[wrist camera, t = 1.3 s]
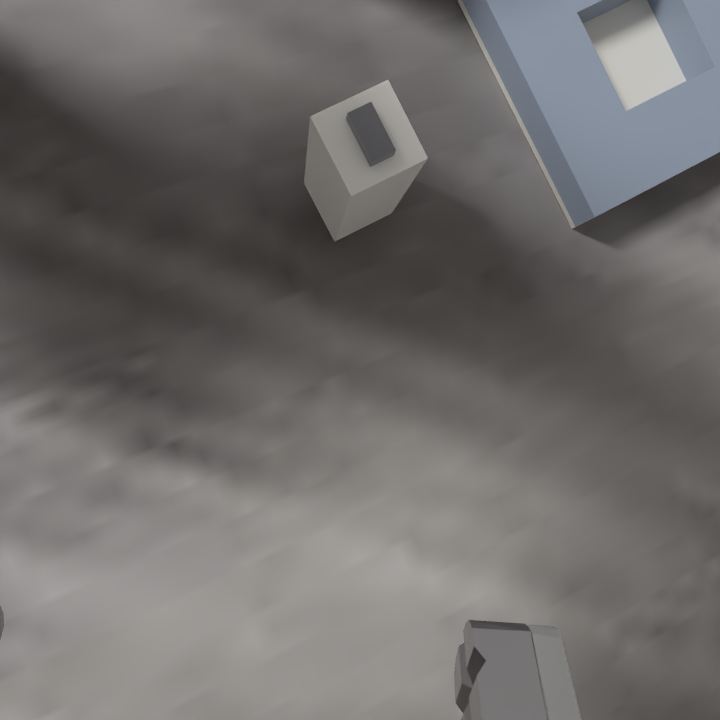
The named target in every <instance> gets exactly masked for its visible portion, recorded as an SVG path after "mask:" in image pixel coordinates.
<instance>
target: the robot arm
mask: <svg viewBox="0 0 720 720" xmlns="http://www.w3.org/2000/svg"><path fill="white" fill-rule="evenodd" d="M3 628H4V614H3V611H2V609H1V606H0V638H1V635H2V631H3ZM463 633H464V643H463V644H461V645H460V646H459V647H458V651H457V655H456V662H455V673H454V677H455V700H456V704H457V705H458V707H459V708H460V710H461V711H462V712H463V716H462V719H461V720H582V718H581V714H580V710H579V706H578V701H577V697H576V693H575V689H574V685H573V680H572V676H571V672H570V668H569V664H568V660H567V655H566V651H565V647H564V643H563V639H562V635H561V633H560V632H559V630H558V629H557V628H555V627H549V626H536V625H526V624H519V623H505V622H491V621H476V620H468V621H467V622H466V624H465V628H464V631H463Z"/></svg>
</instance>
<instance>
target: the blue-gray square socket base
mask: <svg viewBox="0 0 720 720" xmlns="http://www.w3.org/2000/svg"><path fill="white" fill-rule="evenodd" d="M458 3H459V5H460V7H461V9H462V11H463V13H464V15H465V17H466V19H467V21H468V23H469V25H470V27H471V29H472V31H473V33H474V35H475V37H476V39H477V41H478V43H479V45H480V47H481V49H482V51H483V53H484V55H485V57H486V59H487V61H488V63H489V65H490V67H491V69H492V71H493V73H494V75H495V77H496V79H497V81H498V83H499V85H500V87H501V89H502V91H503V93H504V95H505V97H506V99H507V101H508V103H509V105H510V107H511V109H512V111H513V113H514V115H515V117H516V119H517V121H518V123H519V125H520V127H521V129H522V131H523V133H524V135H525V137H526V139H527V140H528V142H529V144H530V146H531V148H532V150H533V152H534V154H535V156H536V158H537V160H538V162H539V164H540V166H541V168H542V170H543V172H544V174H545V176H546V178H547V180H548V182H549V184H550V186H551V188H552V190H553V192H554V194H555V196H556V198H557V200H558V202H559V204H560V206H561V208H562V210H563V212H564V214H565V216H566V218H567V220H568V222H569V224H570V226H571V228H572V229H573V228H575V227H577V226H579V225H581V224H583V223H585V222H587V221H589V220H591V219H593V218H595V217H597V216H599V215H600V214H602V213H604V212H606V211H608V210H610V209H612V208H614V207H616V206H618V205H620V204H621V203H623V202H625V201H627V200H629V199H631V198H633V197H635V196H637V195H639V194H641V193H643V192H644V191H646V190H648V189H650V188H652V187H654V186H656V185H658V184H660V183H662V182H664V181H666V180H667V179H669V178H671V177H673V176H675V175H677V174H679V173H681V172H683V171H685V170H687V169H688V168H690V167H692V166H694V165H696V164H698V163H700V162H702V161H704V160H706V159H708V158H710V157H711V156H713V155H715V154H717V153H719V152H720V0H458Z"/></svg>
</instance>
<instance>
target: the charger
mask: <svg viewBox="0 0 720 720" xmlns="http://www.w3.org/2000/svg"><path fill="white" fill-rule="evenodd" d="M427 159H428V157H427V155H426V153H425V151H424V149H423V147H422V145H421V143H420V141H419V139H418V137H417V136H416V134H415V132H414V130H413V128H412V126H411V124H410V122H409V120H408V118H407V116H406V114H405V112H404V110H403V108H402V106H401V104H400V102H399V100H398V98H397V96H396V94H395V92H394V90H393V88H392V86H391V85H390V83H389V81H388V80H386V81H384V82H382V83H380V84H378V85H375V86H373V87H371V88H369V89H367V90H365V91H363V92H361V93H359V94H356V95H354V96H352V97H350V98H348V99H346V100H344V101H342V102H339V103H337V104H335V105H333V106H331V107H329V108H327V109H325V110H323V111H320V112H318V113H316V114H314V115H312V116H310V123H309V133H308V144H307V155H306V166H305V177H304V184H305V186H306V188H307V190H308V192H309V194H310V196H311V198H312V200H313V202H314V204H315V206H316V207H317V209H318V211H319V213H320V215H321V217H322V219H323V221H324V223H325V225H326V227H327V229H328V231H329V232H330V234H331V236H332V238H333V240H334V242H335V241H337V240H339V239H341V238H343V237H345V236H347V235H349V234H351V233H353V232H355V231H357V230H359V229H361V228H363V227H365V226H367V225H369V224H371V223H373V222H375V221H377V220H379V219H381V218H383V217H385V216H387V215H389V214H391V213H392V212H393V211H394V209H395V208H396V206H397V205H398V203H399V202H400V200H401V199H402V197H403V196H404V194H405V193H406V191H407V190H408V188H409V187H410V185H411V184H412V182H413V180H414V179H415V177H416V176H417V174H418V173H419V171H420V170H421V168H422V167H423V165H424V164H425V162H426V161H427Z"/></svg>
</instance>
